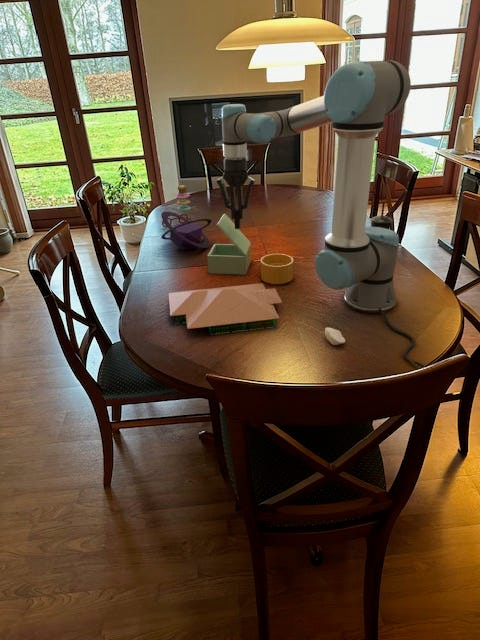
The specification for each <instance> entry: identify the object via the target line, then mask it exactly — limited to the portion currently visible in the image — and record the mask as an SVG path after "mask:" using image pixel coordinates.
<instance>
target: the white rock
mask: <svg viewBox="0 0 480 640" xmlns="http://www.w3.org/2000/svg"><path fill="white" fill-rule="evenodd" d="M324 335H325V338H326V340H327V341H328V342H329V343H330V344H331V345H333V346H339V345H342V344H345V343H346V339H345V338H344V336H343V335H342V332H341V331H340V330H339V329H336V328H333V327H329V326H327V327H325V328H324Z"/></svg>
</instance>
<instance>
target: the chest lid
mask: <svg viewBox="0 0 480 640" xmlns="http://www.w3.org/2000/svg"><path fill="white" fill-rule="evenodd" d="M216 226H217V228H218V229H219V230H220V231H221V232H222V233H223V234H224V235H225V236H226V238H228V240H229V241H230V242H231V243H232V244H234V245H235V246H236V247H237V248H238V250H239V251H240V252H241V253H242V254H243V255H244V256H246V254H247V252H248V249H249V247H250V248H251V244H252V242H251V241H250V240H249V239H248V238H247V236H245V234H244V233H243V232H242V231H241V230H240V228H239V229H235V222H233V221H232V219H231V218H230V217H229V216H228V215H227V214H226V213H223V215H222V216H221V217H220V218H219V221H218V222H217V224H216Z"/></svg>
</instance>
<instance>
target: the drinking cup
mask: <svg viewBox="0 0 480 640" xmlns="http://www.w3.org/2000/svg"><path fill="white" fill-rule="evenodd" d="M385 204H386V202H385V201H383V202H382V206H381V213H380V214H379V215H375V216H373V217H371V218H370V222H371V223H370V227H380V228H385V229H389V230H391V226H392V223H393V218H391V217H390V216H387V215H384V213H385V212H384V211H385Z"/></svg>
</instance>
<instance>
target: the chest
mask: <svg viewBox="0 0 480 640" xmlns="http://www.w3.org/2000/svg"><path fill="white" fill-rule="evenodd" d="M206 258H207V269H208V274H214V275H215V274H217V275H218V274H219V275H220V274H221V275H244V276H245V275H247V273H248V270H249V267H250V265H251V261H252V259H251V258H252V257H251V246H250V247H249V249H248V252H247V254H246V256H244V255H243V254H242V253H241V252H240V251H239V250H238V248H237V247H236V246H235V245H234V244H233V243H232V244H231V243H228V244H227V243H213V245H212V247H211V249H210V251H209V252H208V253H207V257H206Z"/></svg>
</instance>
